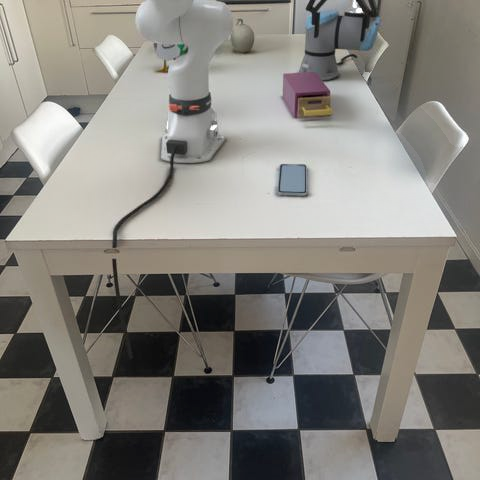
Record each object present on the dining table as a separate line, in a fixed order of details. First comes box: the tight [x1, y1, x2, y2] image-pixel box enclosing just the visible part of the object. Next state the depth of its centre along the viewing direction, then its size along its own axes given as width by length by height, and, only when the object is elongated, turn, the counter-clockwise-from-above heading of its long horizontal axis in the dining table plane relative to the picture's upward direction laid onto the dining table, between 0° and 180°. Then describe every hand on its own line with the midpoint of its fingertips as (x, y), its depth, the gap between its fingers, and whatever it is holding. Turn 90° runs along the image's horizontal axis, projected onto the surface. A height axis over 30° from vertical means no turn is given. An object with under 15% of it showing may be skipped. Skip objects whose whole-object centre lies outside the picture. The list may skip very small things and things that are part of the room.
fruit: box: [230, 18, 255, 53], centre depth 228 cm, size 10×12×15 cm
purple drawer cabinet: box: [282, 72, 331, 119], centre depth 174 cm, size 20×11×8 cm, turn 7°
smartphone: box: [277, 163, 308, 197], centre depth 132 cm, size 7×1×15 cm
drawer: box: [296, 94, 334, 119], centre depth 168 cm, size 24×10×6 cm, turn 7°
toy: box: [153, 43, 187, 73], centre depth 204 cm, size 8×20×24 cm, turn 69°
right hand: (338, 38), depth 150 cm, fingers open, 13 cm apart
